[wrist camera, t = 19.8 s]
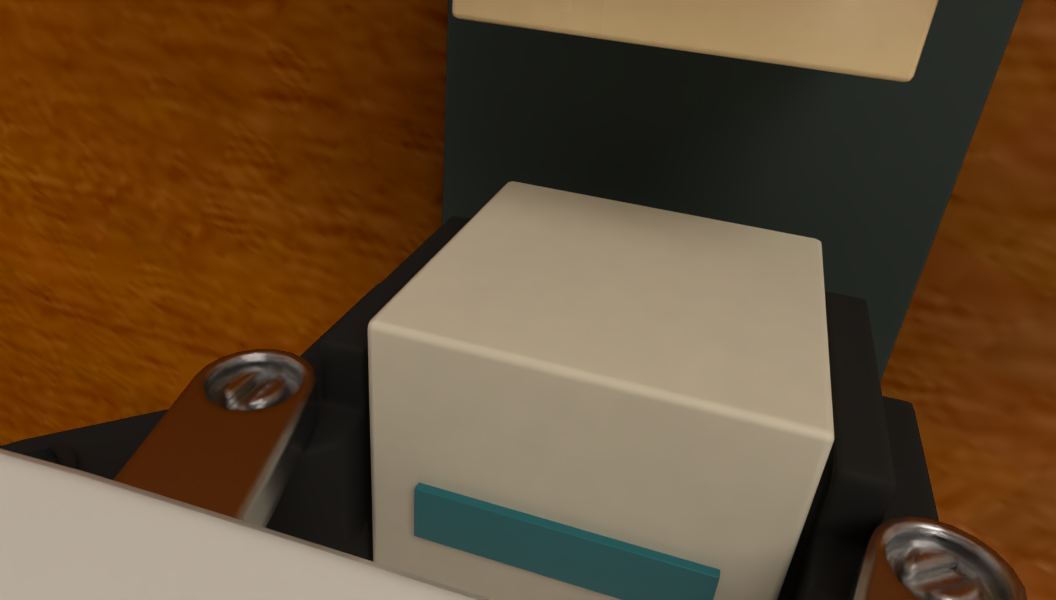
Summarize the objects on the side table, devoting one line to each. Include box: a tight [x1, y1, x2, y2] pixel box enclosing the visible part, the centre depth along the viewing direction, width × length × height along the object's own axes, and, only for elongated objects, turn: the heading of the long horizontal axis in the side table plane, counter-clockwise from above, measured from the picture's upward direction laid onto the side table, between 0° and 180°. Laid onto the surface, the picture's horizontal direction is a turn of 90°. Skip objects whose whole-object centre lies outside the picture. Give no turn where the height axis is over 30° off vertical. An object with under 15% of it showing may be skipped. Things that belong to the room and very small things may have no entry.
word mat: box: [442, 0, 1024, 381], centre depth 12 cm, size 14×8×1 cm, turn 175°
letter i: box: [368, 181, 834, 600], centre depth 10 cm, size 4×4×4 cm
